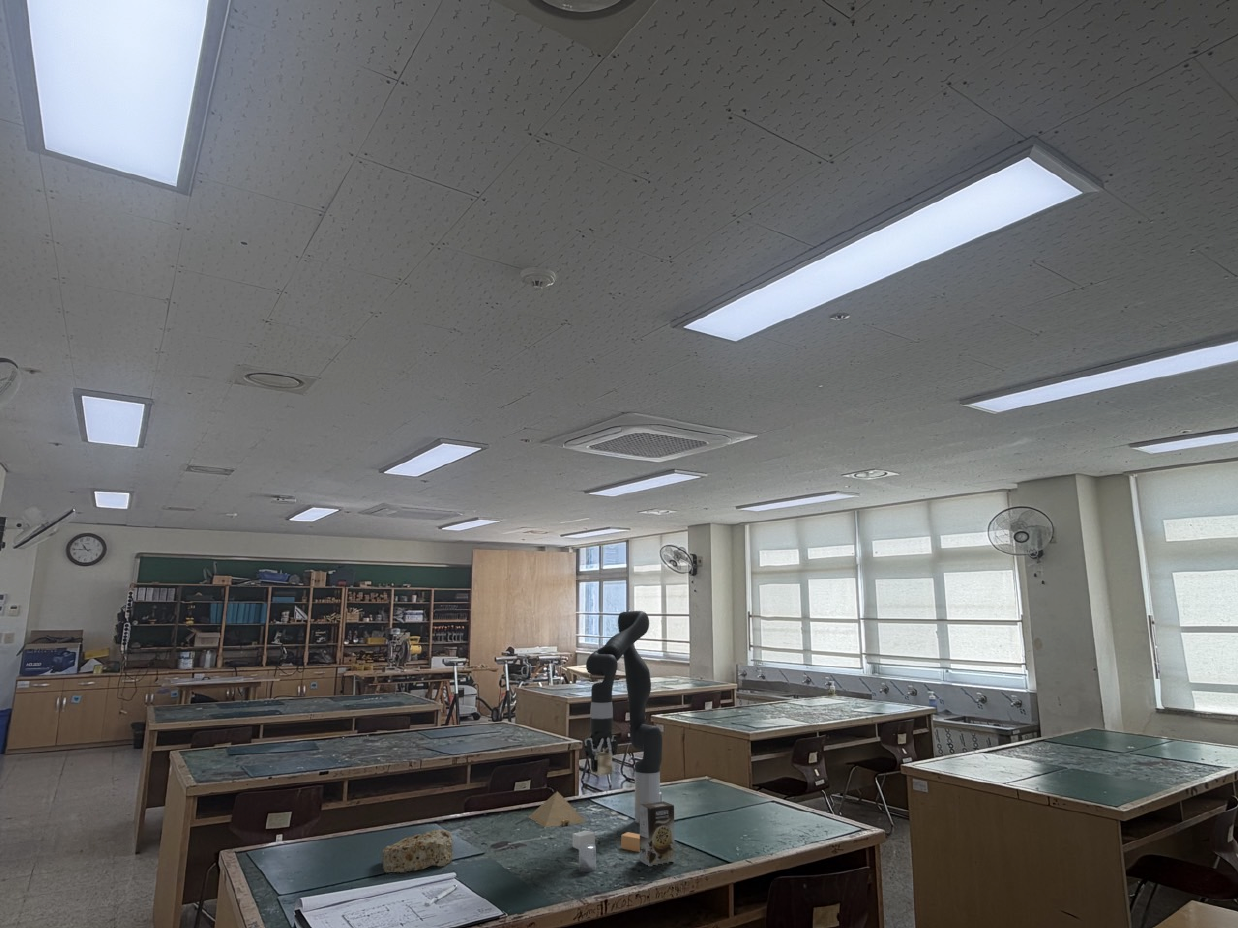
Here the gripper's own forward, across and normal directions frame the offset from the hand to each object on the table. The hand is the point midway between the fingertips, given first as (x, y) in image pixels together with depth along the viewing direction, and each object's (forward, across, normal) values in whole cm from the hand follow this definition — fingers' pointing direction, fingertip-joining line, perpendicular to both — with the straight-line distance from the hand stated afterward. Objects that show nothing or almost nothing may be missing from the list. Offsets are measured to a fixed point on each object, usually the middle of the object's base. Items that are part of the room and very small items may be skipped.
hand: (601, 770), depth 230 cm
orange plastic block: (+24, -8, +7) cm, 26 cm away
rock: (+24, +51, -24) cm, 62 cm away
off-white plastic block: (+23, +3, -5) cm, 24 cm away
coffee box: (+24, -5, +21) cm, 32 cm away
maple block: (+1, 0, 0) cm, 1 cm away
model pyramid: (+24, -9, -36) cm, 44 cm away
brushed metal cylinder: (+23, +15, +12) cm, 30 cm away
